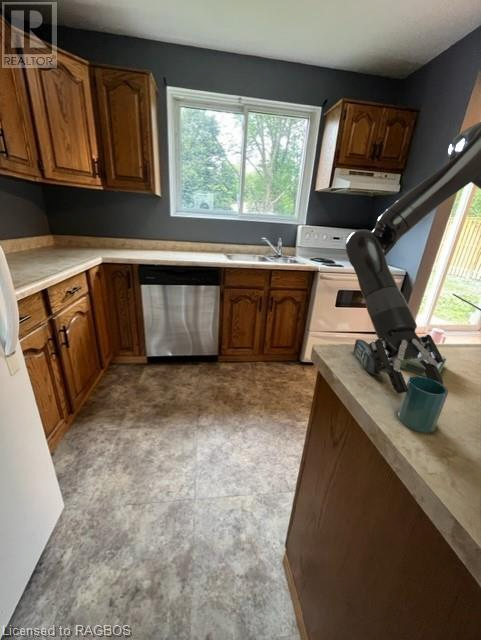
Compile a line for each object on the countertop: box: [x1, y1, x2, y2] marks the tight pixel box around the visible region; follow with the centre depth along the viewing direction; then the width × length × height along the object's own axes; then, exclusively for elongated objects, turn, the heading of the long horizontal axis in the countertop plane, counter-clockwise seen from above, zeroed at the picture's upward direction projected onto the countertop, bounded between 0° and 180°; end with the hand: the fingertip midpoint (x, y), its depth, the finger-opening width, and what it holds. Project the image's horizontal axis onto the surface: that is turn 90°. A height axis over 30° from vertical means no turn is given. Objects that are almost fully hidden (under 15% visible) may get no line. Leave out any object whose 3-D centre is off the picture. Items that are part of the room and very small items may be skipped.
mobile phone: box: [353, 338, 383, 381], centre depth 72 cm, size 5×3×15 cm
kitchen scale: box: [400, 352, 447, 378], centre depth 73 cm, size 11×10×3 cm
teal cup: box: [397, 375, 449, 434], centre depth 51 cm, size 6×6×8 cm
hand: (420, 389), depth 51 cm, fingers open, 8 cm apart
